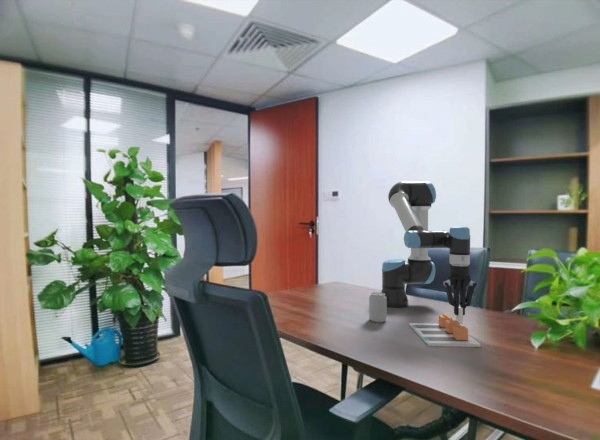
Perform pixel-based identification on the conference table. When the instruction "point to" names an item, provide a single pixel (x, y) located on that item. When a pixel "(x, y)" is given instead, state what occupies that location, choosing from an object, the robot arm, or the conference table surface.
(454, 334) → the tab
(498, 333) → the conference table surface
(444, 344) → the panel
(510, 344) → the conference table surface
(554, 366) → the conference table surface
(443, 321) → the orange small block
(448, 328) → the tab
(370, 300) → the can
